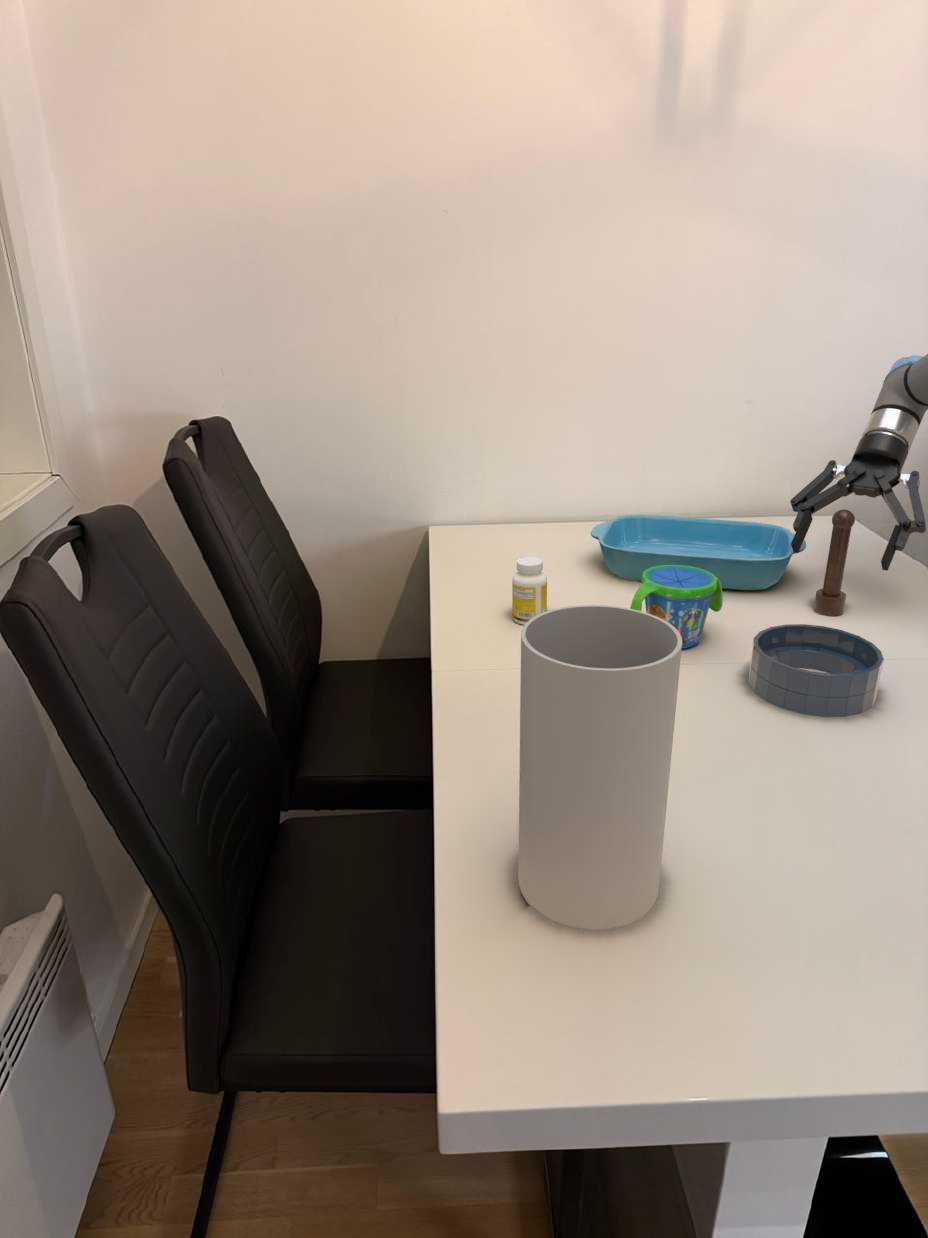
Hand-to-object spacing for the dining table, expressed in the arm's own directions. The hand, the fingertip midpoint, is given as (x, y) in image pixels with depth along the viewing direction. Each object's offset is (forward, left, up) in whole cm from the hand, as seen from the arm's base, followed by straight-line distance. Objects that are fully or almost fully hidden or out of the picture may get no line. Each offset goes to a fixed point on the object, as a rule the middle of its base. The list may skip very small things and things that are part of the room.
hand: (837, 557), depth 131 cm
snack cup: (+16, +25, -9) cm, 31 cm away
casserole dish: (+25, -5, -9) cm, 27 cm away
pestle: (0, +1, -9) cm, 9 cm away
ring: (-5, +31, -9) cm, 32 cm away
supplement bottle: (+38, +30, -9) cm, 49 cm away
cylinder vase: (+2, +79, -9) cm, 80 cm away
